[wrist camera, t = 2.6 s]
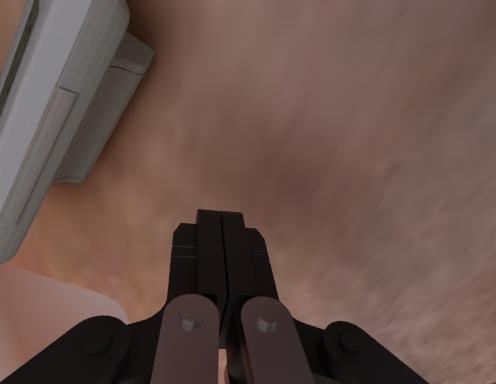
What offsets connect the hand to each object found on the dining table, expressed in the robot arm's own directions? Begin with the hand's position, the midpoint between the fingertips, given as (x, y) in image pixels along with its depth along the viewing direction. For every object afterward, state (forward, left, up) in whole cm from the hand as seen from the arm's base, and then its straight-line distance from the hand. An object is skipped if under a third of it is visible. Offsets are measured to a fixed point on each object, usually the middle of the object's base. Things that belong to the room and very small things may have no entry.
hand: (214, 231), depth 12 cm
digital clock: (+9, 0, -15) cm, 18 cm away
